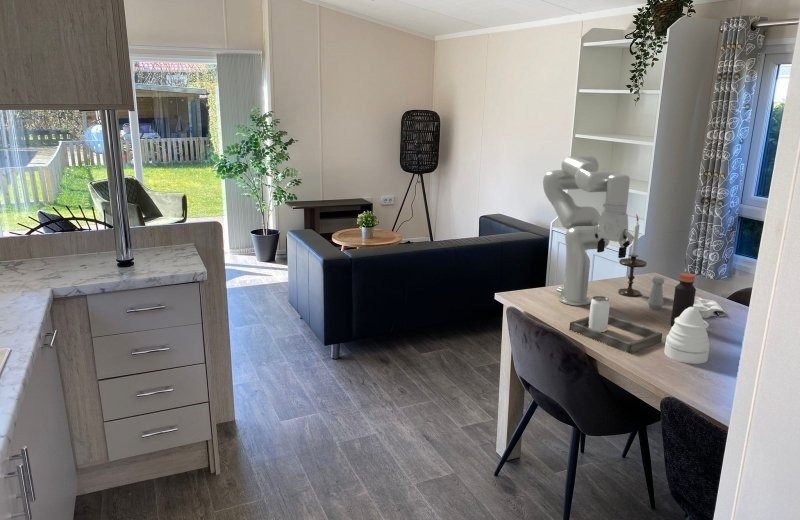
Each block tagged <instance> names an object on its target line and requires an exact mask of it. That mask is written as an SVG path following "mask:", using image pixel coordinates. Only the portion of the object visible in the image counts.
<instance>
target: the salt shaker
mask: <svg viewBox="0 0 800 520" xmlns="http://www.w3.org/2000/svg"><path fill="white" fill-rule="evenodd" d="M651 281H652V284H653V285H652V288H651V290H650V294H649V297H648V300H647V304H648V307H649V309H652V310H655V311H659V310H661V309H662V308H663V305H664V291H663V284H664V283H665V278H664V277H662V276H654V277H652V280H651Z"/></svg>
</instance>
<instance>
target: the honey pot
mask: <svg viewBox="0 0 800 520" xmlns="http://www.w3.org/2000/svg"><path fill="white" fill-rule="evenodd" d="M701 308H702V305H700V304H693V307H689V308H687V309H685V310H684V311H683V312H682V313H681V315H680V316H679V317H677V318H675V320H674V321H675V323H674V325H673V326H671V327H670V330H669V332H668V333H667V335H666V337H665V339H666V340H665V344H664V345H665V346H664V354H665V356H666V357H668V358H669V359H672V360H674V361H677V362H681V363H685V364H694V365H695V364H696V365H697V364H703V363H706V362H707V361H708V359H709V352H710V341H709V336H708V332H707V329H708V328H709V326H710V325H709V323H708V322H707V320H704V318H702V316H701V314H700V312H699V311H700V310H701Z"/></svg>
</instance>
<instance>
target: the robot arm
mask: <svg viewBox="0 0 800 520" xmlns="http://www.w3.org/2000/svg"><path fill="white" fill-rule="evenodd" d="M542 179H543V181H542V186H543V191H544V194H545V196H546V198H547V199H548V201H549V203H550V204H551V206H552V207H553V208H554V211H555V212H556V215H557V217H558V220H559V221H560V223H561V225H562V227H563V228H564V229H566V230H567V231H566V232H565V235H564V241H565V254H566V255H565V268H564V280H563V286H561V285H559V286H558V288H556V292H557V293H560V295H559V296H558V300H559V301H560V302H561V303H563V304H565V305H569V306H576V307H577V306H587V305H589V304H591V298H590V297H588V288H589V278H590V267H591V260H590V257H589V255H588V254H587V250H596V252H597V253H603V252H605V248H607V247H608V245H609V244H610V242H614V243H616V242H617V243H618V244H619V246H620V247H619V248H618V253H617V255H618V256H617V258H618V259H624V258H626V254H627V248H628V247H629V246H630V245H631V244H633V239H634V235H632V234H631V233H630V231H629V217H628V216H629V215H628V213H627V208H628V200H629V191H630V183H631V182H630V181H631V178H630V176H629V175H627V174H621V173H620V172H619V171H599V161H598V160H597V158H596V157H595V156H593V155H570V156H567V157H566V158H564V159H563V161H562V162H561V169H555V170H550V171H548V172H547V173H546V174H545V175H544V177H543V178H542ZM564 190H565V191H564ZM567 190H572V191H573V190H583V191H584V192H586V193H605V199H604V200H605V203H603V205H602V207H603V208H604V210H602V212H601V214H600V212H599V210H597V208H595V207H593V206H578V205H577V203H576V202H575V200H574V198H573V197H572V196H571V195H570V194H569V193H567V192H566V191H567Z"/></svg>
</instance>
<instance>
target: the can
mask: <svg viewBox="0 0 800 520" xmlns="http://www.w3.org/2000/svg"><path fill="white" fill-rule="evenodd" d="M610 305H611V303H610V298H608V297H606V296H603V295H595V296H592V299H591V300H590V307H589V316H588V317H589V326H588V328H590V329H593V330H596V331H599V332H603V333H606V332H607V331H608V325H609V324H608V316H610V315H609V313H610ZM605 331H606V332H605Z"/></svg>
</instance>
